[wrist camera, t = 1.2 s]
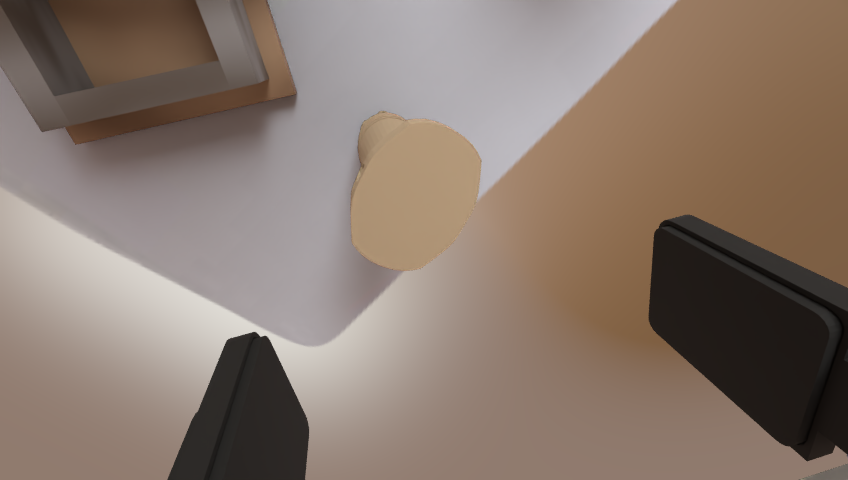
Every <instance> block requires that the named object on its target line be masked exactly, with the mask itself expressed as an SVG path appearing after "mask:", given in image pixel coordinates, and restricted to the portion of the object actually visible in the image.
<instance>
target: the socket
mask: <svg viewBox="0 0 848 480" xmlns="http://www.w3.org/2000/svg"><path fill="white" fill-rule="evenodd" d="M0 66H1V68H2V69H3V71H4V72H5V74H6V76H7V77H8V79H9V80H10V82H11V84H12V85H13V87H14V88H15V90H16V92H17V93H18V95H19V96H20V98H21V99H22V101H23V103H24V104H25V106H26V107H27V109H28V111H29V112H30V114H31V115H32V117H33V119H34V120H35V122H36V123H37V125H38V127H39V128H40V130H41V131H42V132H45V131H49V130H53V129H58V128H62V127H65V128H66V130H67V131H68V133H69V135H70V137H71V138H72V140H73V142H74V143H75V145H76V144H81V143H85V142H89V141H94V140H98V139H102V138H107V137H111V136H115V135H120V134H124V133H129V132H133V131H137V130H142V129H146V128H150V127H155V126H159V125H164V124H168V123H172V122H177V121H181V120H185V119H190V118H194V117H199V116H203V115H207V114H212V113H216V112H220V111H225V110H229V109H234V108H238V107H242V106H247V105H251V104H255V103H260V102H264V101H268V100H273V99H277V98H282V97H286V96H290V95H295V94H296V93H297V91H296V88H295V85H294V82H293V79H292V76H291V73H290V70H289V66H288V63H287V60H286V57H285V54H284V51H283V48H282V45H281V42H280V39H279V36H278V32H277V29H276V26H275V23H274V20H273V17H272V14H271V11H270V8H269V5H268V2H267V0H0Z"/></svg>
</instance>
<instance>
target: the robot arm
mask: <svg viewBox="0 0 848 480" xmlns="http://www.w3.org/2000/svg"><path fill="white" fill-rule="evenodd" d="M649 322H650V325H651V327H652V328H653V330H654V331H655V332H656V333H657V334H658V335H659V336H660V337H661V338H663V339H664V340H665V341H666V342H667V343H668V344H669V345H670V346H671V347H673V348H674V349H675V350H676V351H677V352H678V353H679V354H680V355H681V356H683V357H684V358H685V359H686V360H687V361H688V362H689V363H690V364H692V365H693V366H694V367H695V368H696V369H697V370H698V371H699V372H701V373H702V374H703V375H704V376H705V377H706V378H707V379H708V380H710V381H711V382H712V383H713V384H714V385H715V386H716V387H717V388H718V389H719V390H721V391H722V392H723V393H724V394H725V395H726V396H727V397H728V398H730V399H731V400H732V401H733V402H734V403H735V404H736V405H737V406H738V407H740V408H741V409H742V410H743V411H744V412H745V413H746V414H748V415H749V416H750V417H751V418H752V419H753V420H754V421H755V422H757V423H758V424H759V425H760V426H761V427H762V428H763V429H764V430H765V431H766V432H768V433H769V434H770V435H771V436H772V437H773V438H774V439H775V440H777V441H778V442H779V443H781V444H783V445H785V446H790V447H791V448H793V449H794V450H795V451H796V452H797V453H798V454H799V455H801V456H802V457H803V458H804V459H805V460H806V461H809V460H813V459H816V458H819V457H822V456H824V455H828V454H831V453H833V450H834V448H835V445H836V446H838V447H839V448H840V449H841V450H843V451H844V452H845V453H846V454H847V458H848V288H847V287H844V286H842V285H840V284H838V283H836V282H833V281H832V280H829V279H827V278H825V277H823V276H821V275H819V274H816V273H814V272H812V271H810V270H808V269H806V268H804V267H802V266H799V265H797V264H795V263H793V262H791V261H789V260H787V259H784V258H782V257H780V256H778V255H776V254H774V253H772V252H769V251H767V250H765V249H763V248H761V247H758V246H757V245H754V244H752V243H750V242H748V241H746V240H743V239H742V238H739V237H737V236H735V235H733V234H731V233H728V232H726V231H724V230H722V229H720V228H718V227H716V226H714V225H712V224H709V223H707V222H705V221H703V220H701V219H699V218H697V217H694V216H692V215H683V216H680V217H676V218H672V219H669V220H665V221H663V222H662V223H661V224H660V226H659V228H658V229H657V230H656V231H655V233H654V243H653V258H652V274H651V288H650V304H649ZM308 439H309V426H308V421H307V418H306V415H305V413H304V411H303V409H302V407H301V405H300V403H299V401H298V399H297V396H296V394H295V392H294V390H293V388H292V386H291V384H290V382H289V380H288V378H287V376H286V373H285V371H284V369H283V367H282V365H281V363H280V361H279V359H278V357H277V354H276V352H275V350H274V348H273V346H272V344H271V342H270V340H269V339H268V337H267V336H263V337H260V336H259V335H258V334H257V333H256V332H252V333H249V334H245V335H241V336H238V337H234V338H230V339H228V340H227V342H226V344H225V346H224V348H223V351H222V353H221V356H220V358H219V361H218V364H217V366H216V368H215V371H214V373H213V376H212V378H211V380H210V383H209V385H208V388H207V390H206V393H205V395H204V398H203V400H202V403H201V405H200V408H199V410H198V412H197V413H196V414H195V416H194V417H193V419H192V421H191V424H190V426H189V429H188V431H187V434H186V436H185V438H184V441H183V443H182V445H181V448H180V450H179V453H178V455H177V458H176V460H175V462H174V465H173V468H172V470H171V472H170V475H169V477H168V480H305V473H306V462H307V450H308ZM800 480H848V464H845V465H843V466H839V467H836V468H833V469H830V470H827V471H825V472H821V473H818V474H815V475H812V476H809V477H806V478H803V479H800Z"/></svg>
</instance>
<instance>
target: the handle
mask: <svg viewBox="0 0 848 480" xmlns="http://www.w3.org/2000/svg"><path fill="white" fill-rule="evenodd" d="M358 153H359V159H360V162H361V165H362V166H361V168H360V170H359V173H358V175H357V177H356V180H355V182H354V185H353V188H352V191H351V207H350V208H351V236H352V244H353V245H354V246H355V248H356V249H357V250H358V251H359V252H360V253H361V255H362V256H364V257H365V258H367V259H368V260H370V261H371V262H373V263H375V264H378V265H380V266H382V267H386V268H389V269H392V270H400V271H409V270H417V269H420V268H422V267H423V266H425V265H426V264H428V263H429V262H430V261H432V260H433V259H434V258H436V257H437V256H438V255H440V254H441V253H442V252H444V251H445V250H446V249H447V248H448V247H449V246H450V245H451V244H452V243H453V242H454V241H455V239H456V238H457V236H458V235H459V234H460V232H461V230H462V228H463V227H464V225H465V223H466V222H467V220H468V218H469V217H470V215H471V213H472V211H473V208H474V206H475V204H476V200H477V196H478V190H479V182H480V172H481V162H482V161H481V159H480V156H479V154H478V152H477V151H476V149H475V148H474V146H473V145H472V144H471V143H470V142H469V141H468V140H467V139H466V138H465V137H463V136H462V135H461V134H459V133H458V132H456V131H454V130H453V129H451V128H450V127H448V126H446V125H444V124H441V123H439V122H436V121H432V120H428V119H411V120H405V119H404V118H402V117H400V116H398V115H396V114H392V113H387V112H386V111H380V112H378V114H376V115H374V116H372V117H370V118H369V119H368V120H366V121H364V122H363V124H362V126H361V129H360V134H359V139H358Z"/></svg>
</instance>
